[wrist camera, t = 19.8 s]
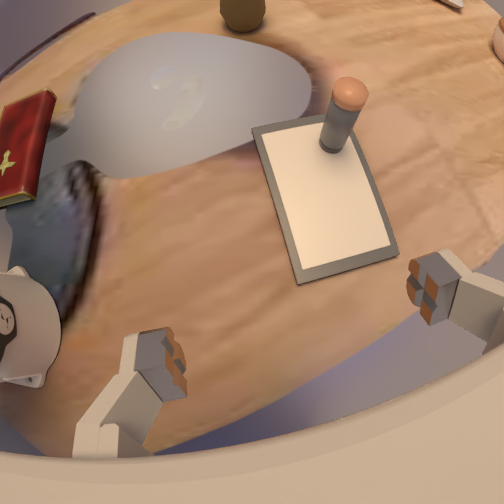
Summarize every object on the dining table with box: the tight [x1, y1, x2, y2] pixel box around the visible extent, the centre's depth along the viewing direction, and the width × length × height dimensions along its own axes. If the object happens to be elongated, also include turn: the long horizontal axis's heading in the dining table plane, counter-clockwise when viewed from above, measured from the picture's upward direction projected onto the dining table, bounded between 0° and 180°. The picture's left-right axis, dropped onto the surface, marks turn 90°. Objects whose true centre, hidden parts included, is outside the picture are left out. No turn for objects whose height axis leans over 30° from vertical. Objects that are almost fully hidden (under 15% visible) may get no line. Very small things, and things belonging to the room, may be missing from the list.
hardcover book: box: [0, 88, 57, 210], centre depth 43 cm, size 12×21×4 cm, turn 5°
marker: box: [319, 77, 369, 154], centre depth 36 cm, size 4×4×12 cm
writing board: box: [252, 114, 400, 285], centre depth 41 cm, size 14×22×1 cm, turn 15°
